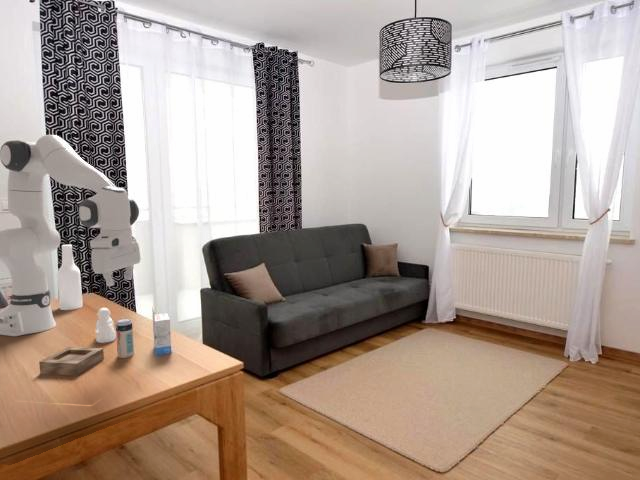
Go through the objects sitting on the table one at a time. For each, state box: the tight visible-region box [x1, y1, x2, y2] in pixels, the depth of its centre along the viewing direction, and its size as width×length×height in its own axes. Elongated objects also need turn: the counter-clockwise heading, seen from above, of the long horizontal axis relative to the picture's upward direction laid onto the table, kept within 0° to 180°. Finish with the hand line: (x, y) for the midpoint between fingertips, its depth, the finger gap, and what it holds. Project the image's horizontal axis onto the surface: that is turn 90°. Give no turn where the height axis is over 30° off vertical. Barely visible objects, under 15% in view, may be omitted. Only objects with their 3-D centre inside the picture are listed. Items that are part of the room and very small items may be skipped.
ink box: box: [151, 306, 172, 356], centre depth 141 cm, size 8×5×15 cm, turn 26°
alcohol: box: [56, 243, 84, 311], centre depth 190 cm, size 9×9×30 cm
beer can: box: [115, 318, 135, 359], centre depth 137 cm, size 5×5×12 cm
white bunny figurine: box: [94, 307, 117, 344], centre depth 151 cm, size 6×8×12 cm
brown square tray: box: [38, 346, 105, 377], centre depth 129 cm, size 12×12×4 cm
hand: (119, 282), depth 134 cm, fingers open, 8 cm apart
